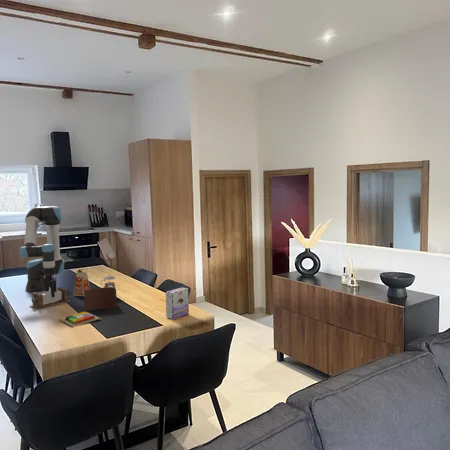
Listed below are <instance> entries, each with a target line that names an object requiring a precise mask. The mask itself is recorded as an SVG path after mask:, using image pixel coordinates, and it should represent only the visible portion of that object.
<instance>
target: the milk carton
mask: <svg viewBox="0 0 450 450" xmlns="http://www.w3.org/2000/svg"><path fill="white" fill-rule="evenodd" d="M88 276H89V275H88V272H87V271H86V270H85V268H78V271H76V276H75V281H74V282H75V283H74V289H73V297H77V296H78V297H84V292H85V291H86V290H89V289H91V288H90V287H91V286H90V281H89V277H88Z"/></svg>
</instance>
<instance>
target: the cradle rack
mask: <svg viewBox="0 0 450 450" xmlns="http://www.w3.org/2000/svg"><path fill="white" fill-rule="evenodd" d="M56 290H58V291H61V293H62V294H63V295H62V299H61V300H57V301H55V302H48V303H44V304H43V294H44V293H38V292H31V299H32V298H37V301H36V302H35V303H32V305H29V308H31V309H35V310H40V309H45V308H49V307H54V306H58V305H62V303H63V304H67V303H70V302H72V300H71V299H69V292H68V291H69V290H68V288H63V287H60V286H59V287H56ZM66 302H67V303H66Z"/></svg>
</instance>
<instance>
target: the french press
mask: <svg viewBox="0 0 450 450" xmlns="http://www.w3.org/2000/svg"><path fill="white" fill-rule="evenodd" d="M110 264H111V262H110V261H109V262H107V265H110ZM114 279H116V276H114V275H110V274H109V275H106V276H104V277H103V279H102V280H101V281H100V283H99V284H100V288H116V284H115V283H116V282H113V281H110V280H114ZM106 280H109V282H106ZM103 282H104V285H103V286H102V283H103ZM116 298H117V294H116Z"/></svg>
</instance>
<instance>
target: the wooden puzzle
mask: <svg viewBox="0 0 450 450" xmlns="http://www.w3.org/2000/svg"><path fill="white" fill-rule="evenodd" d="M58 320H59V321H61V322H63V323H64V322H65V324H67V325H68V326H70V327H72V326H75V327H78V326H77V325H79V326H82V325H81V324H83V325H86V324H89V323H92V322H95V321H97V320H98V321H99V320H100V321H101V320H102V318H101V317H99V316H97V315H94V314H93V313H90V312H89V311H82V312H78V313H75V314H73V315H68V316H65V318H62V317H61V318H59V319H58ZM85 323H86V324H85Z"/></svg>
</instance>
